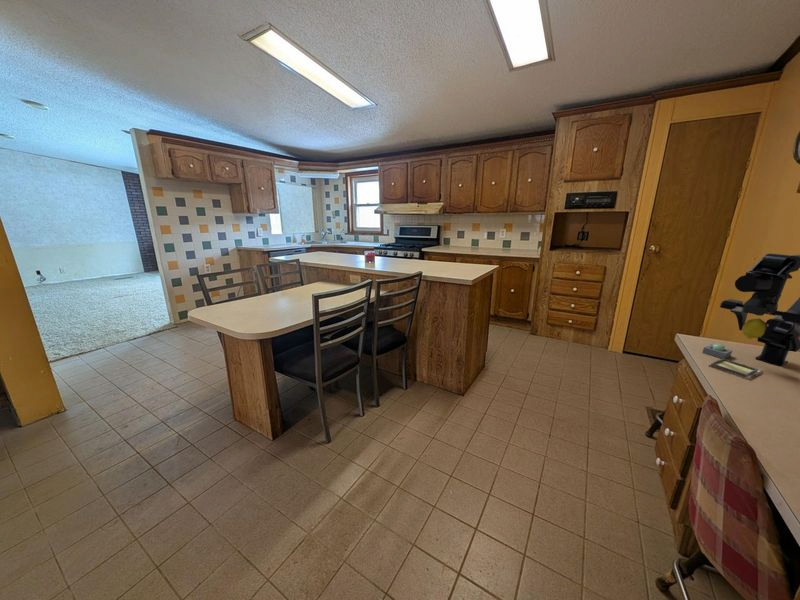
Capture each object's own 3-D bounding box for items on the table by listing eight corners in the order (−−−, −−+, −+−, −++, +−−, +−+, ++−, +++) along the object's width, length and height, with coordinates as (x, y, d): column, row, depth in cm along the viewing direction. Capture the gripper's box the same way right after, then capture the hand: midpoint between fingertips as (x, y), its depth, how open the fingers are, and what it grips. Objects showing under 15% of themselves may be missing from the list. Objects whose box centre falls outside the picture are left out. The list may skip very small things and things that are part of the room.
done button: (713, 350, 115) (715, 343, 114) (723, 353, 112) (726, 346, 111) (709, 351, 114) (712, 344, 113) (720, 355, 111) (722, 347, 110)
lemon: (765, 343, 101) (776, 323, 98) (746, 341, 103) (757, 321, 100) (751, 335, 106) (762, 316, 103) (733, 334, 108) (743, 314, 105)
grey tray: (722, 360, 109) (723, 356, 109) (762, 372, 100) (764, 369, 100) (708, 366, 105) (709, 362, 104) (748, 380, 96) (750, 376, 95)
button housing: (709, 349, 117) (711, 344, 116) (730, 356, 112) (732, 350, 111) (702, 352, 115) (704, 347, 114) (723, 359, 109) (725, 353, 109)
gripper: (719, 287, 104) (706, 327, 109) (804, 301, 88) (784, 347, 92) (733, 284, 108) (720, 323, 113) (816, 296, 92) (797, 341, 96)
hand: (752, 332), depth 103 cm, fingers closed on lemon, 6 cm apart
